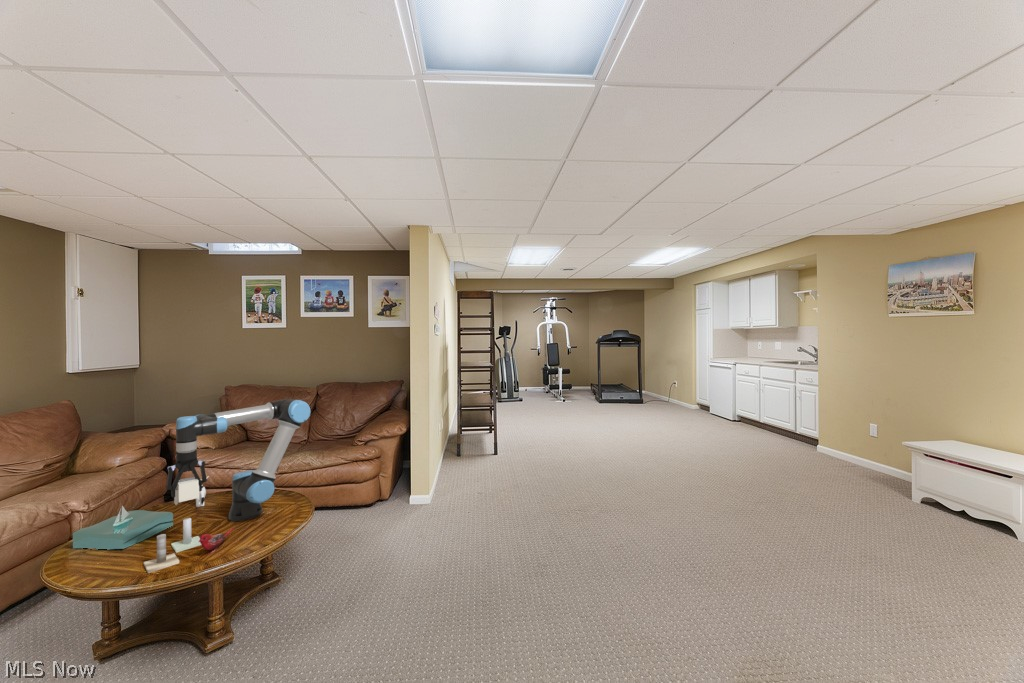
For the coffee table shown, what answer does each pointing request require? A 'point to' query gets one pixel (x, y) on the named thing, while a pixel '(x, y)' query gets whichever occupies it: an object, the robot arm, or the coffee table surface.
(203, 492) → the cricket player figurine
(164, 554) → the post
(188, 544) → the post
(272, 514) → the coffee table surface
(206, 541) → the decorative bird figurine
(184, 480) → the white drawer box
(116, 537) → the sailboat water diorama
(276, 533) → the coffee table surface
